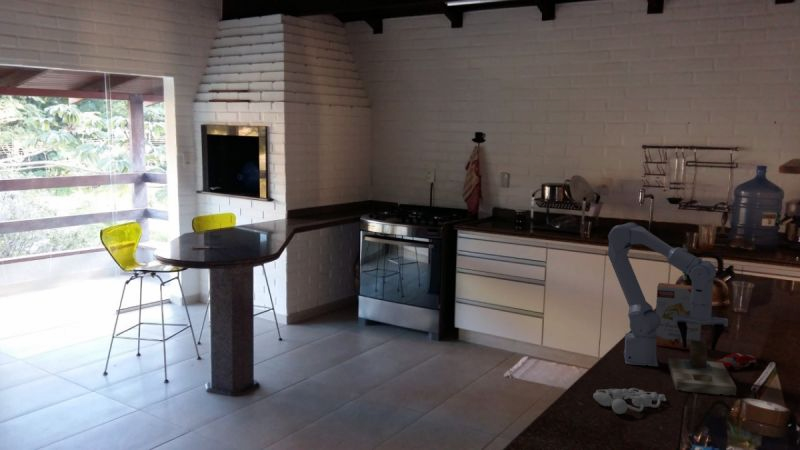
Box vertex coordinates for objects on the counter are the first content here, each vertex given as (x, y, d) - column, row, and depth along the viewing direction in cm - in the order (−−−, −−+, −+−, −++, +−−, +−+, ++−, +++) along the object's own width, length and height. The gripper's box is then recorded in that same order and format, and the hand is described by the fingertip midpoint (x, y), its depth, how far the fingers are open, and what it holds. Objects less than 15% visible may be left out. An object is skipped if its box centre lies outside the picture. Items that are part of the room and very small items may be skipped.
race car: (724, 373, 190) (725, 360, 190) (711, 367, 195) (712, 354, 195) (760, 368, 194) (761, 355, 193) (746, 362, 199) (747, 350, 198)
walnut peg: (691, 367, 187) (692, 344, 186) (689, 362, 191) (690, 340, 190) (706, 368, 186) (707, 345, 185) (703, 363, 189) (705, 341, 189)
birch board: (676, 390, 177) (676, 381, 176) (668, 366, 196) (668, 357, 195) (736, 396, 172) (736, 386, 172) (721, 370, 191) (722, 362, 191)
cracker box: (653, 346, 215) (656, 285, 212) (655, 341, 220) (658, 281, 217) (699, 352, 208) (702, 289, 205) (700, 346, 213) (703, 285, 211)
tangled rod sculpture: (640, 392, 179) (640, 378, 179) (680, 408, 165) (680, 392, 165) (584, 401, 171) (584, 386, 171) (621, 418, 158) (621, 402, 158)
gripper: (676, 304, 184) (673, 350, 186) (731, 308, 180) (728, 354, 182) (673, 299, 191) (670, 342, 193) (726, 302, 187) (723, 346, 188)
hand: (698, 347), depth 188 cm, fingers open, 7 cm apart
